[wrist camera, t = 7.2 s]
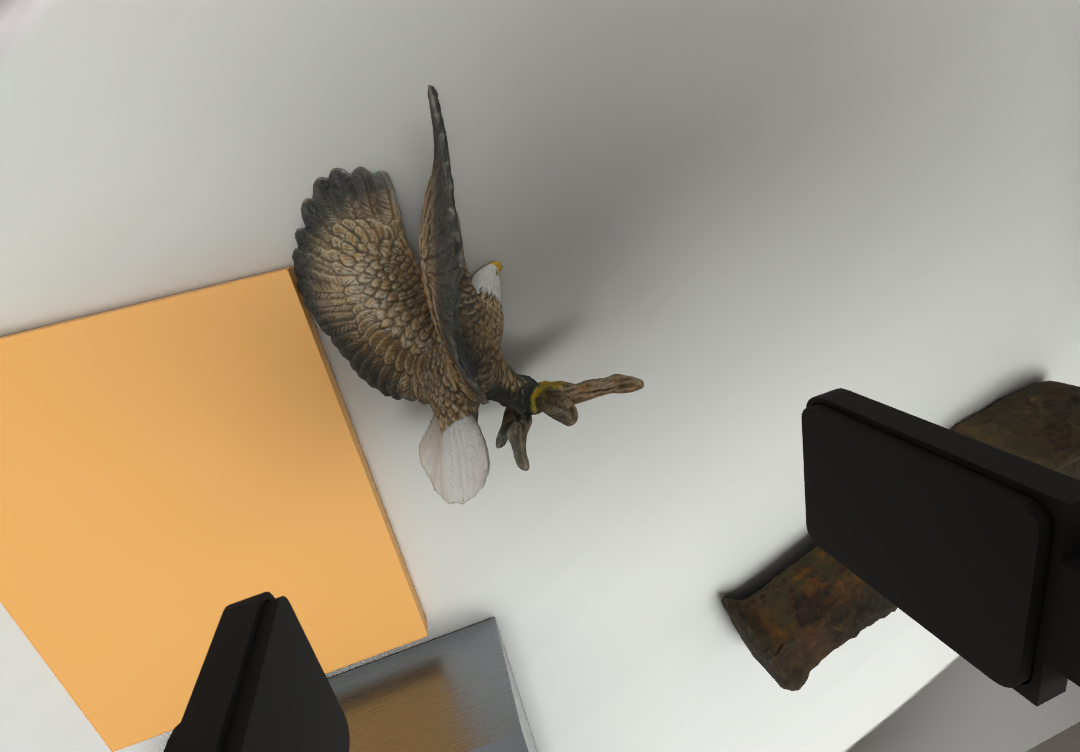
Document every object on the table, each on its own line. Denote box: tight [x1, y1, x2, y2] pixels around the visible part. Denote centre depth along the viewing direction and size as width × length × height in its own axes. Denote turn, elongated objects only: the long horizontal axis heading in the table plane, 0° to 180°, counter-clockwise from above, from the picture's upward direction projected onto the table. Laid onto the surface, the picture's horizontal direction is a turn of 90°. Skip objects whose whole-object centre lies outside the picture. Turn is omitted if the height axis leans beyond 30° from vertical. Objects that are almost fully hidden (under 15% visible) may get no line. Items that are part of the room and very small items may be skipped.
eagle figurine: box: [292, 85, 644, 504], centre depth 15 cm, size 8×7×9 cm
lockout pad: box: [0, 266, 428, 752], centre depth 17 cm, size 11×14×1 cm
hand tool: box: [722, 381, 1080, 691], centre depth 24 cm, size 19×4×5 cm, turn 122°
